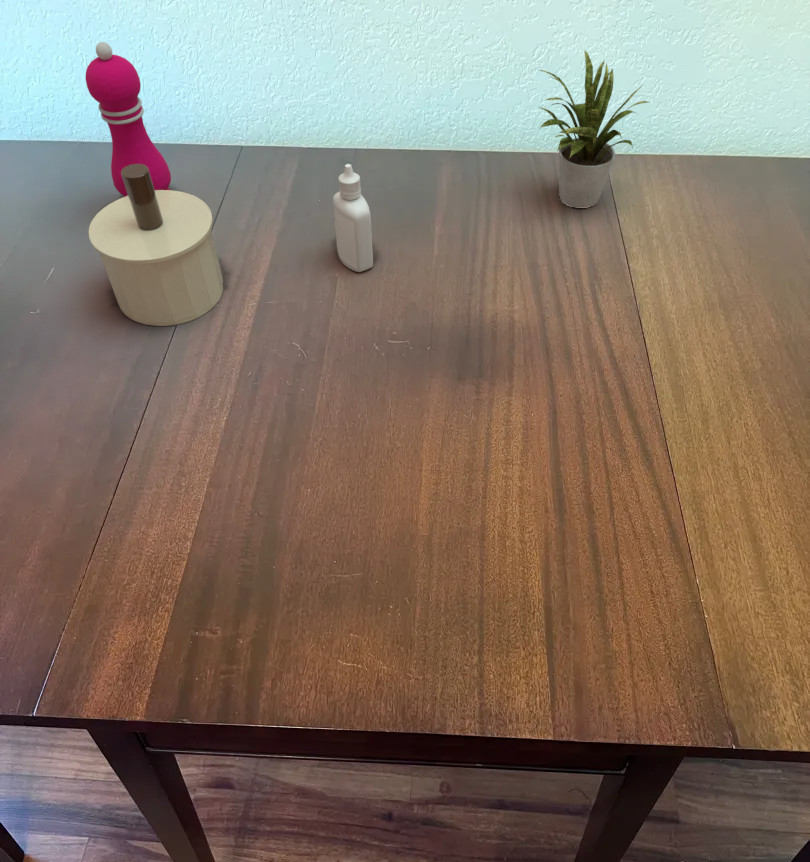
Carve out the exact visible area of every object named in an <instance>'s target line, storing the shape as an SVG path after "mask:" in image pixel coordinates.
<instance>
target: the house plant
mask: <svg viewBox="0 0 810 862" xmlns="http://www.w3.org/2000/svg"><path fill="white" fill-rule="evenodd" d="M584 60H585V61H584V62H585V76H584V92H585V93H584V94H585V99H584V102H583V103H577V104H575V102H574V99H573V97H572V95H571V93H570V90H569V89H568V87H567V85H566V84H565V83H564V81H563V80H562V79H561V78H560V77H559V76H558V75H556V74H554V73H552V72H549V71H548V70H547V71H546V70H543V69H537V70H538V71H540V72H543V73H546V74H547V75H550V76H551V77H550V76H549V77H550V78H551V79H553V80H555V81H558V82H559V83H560V84H561V85H562V86H563V88H564V90H565V92H566V94H567V95H568V97H569V98H568V99H570V102H571V103H570V102H569V101H566V100H565V99H563V98H562V97H557V96H555V97H548V98H546V99H545V101H564V102H566V104H568V105H569V106H568V105H566V104H564V103H560V102H556V103H555V102H554V103H552V104H551V106H553V105H561V106H562V107H564V108H565V109H566V111H567V113H568V114H569V116H570V119H571V120H572V123H573V127H571V126H570V125H569V124H568V123H567V122H566V121H564V120H561V119H558V117H557V116H556V114H555V113H554V112H553V111H551V110H549V109H547V108H545V107H540V106H538V108H539V109H541V110H543V111H545V112H547V113H548V114H549V116H551V117H552V118H550V119H547V120H545V121H544V122H543V123H542V124H541V125H540V127H539V128H538V130H540V129H541V128H545V127H550V126H558V127H559V128H560V129H561V131H560V132H559V133H560V134H557V135H555V136H554V138H558V137H560V138H561V137H562V138H561V139H560V140H559V143H558V147H557V150H556V152H558V197H559V196H560V198H559V200H560V199H561V200H562V201H563V202H565V203H566V204H568V205H570V206H573V207H588V206H592V205H594V204H596V203H597V202H598V203H599V201H598V200H600V198H601V196H602V193H603V190H604V188H605V184H606V183H607V180H608V176H609V174H610V171H611V168H612V166H613V163H614V161H615V158H616V150H615V149H614V146H616V145H618V144H621V143H622V144H628V145H630V146H631V147H632V148H634V147H633V142H632V140H630V139H623V138H622V133H621V132H620V131H619V130H616V129H611V128H613V126H614V125H615V124H616V123H618V122H619V121H620V120H622V119H623V118H624V117H627V115H630V114H632V113H634V114H637V115H638V113H637V112H636V111H633V110H630V108H632V107H635V106H637V105H641V104H647V103H651V102H650V101H647V100H640V101H637V102H635V103H634V104H632V105H631V106H629V107H627V109H625V110H622V111H621V112H620V110H621V109H622V108H623V107H624V106H625V105H627V103H628V102H629V101H630V100H631V99H632V98H633V96H634V95H635V94H636V93H637V92H638V91H639V90H640V89H641V88H642V87H643V85H641V86H639V87H638V88H637V89H636V90H634V91H633V92H632V93H631V94H630V95H629V96H628V98H627V99H626V100H625V101H624V102H623V103H622V104H621V105H620V107H618V108H617V109H616V110H615V112H614V113H613V115H612V116H611V117H610V118H609V120H608V121H607V122H606V124H605V125H604V127H603V129H602V130H601V131H600V129H601V126H602V123H603V121H604V119H605V116H606V113H607V110H608V107H609V103H610V99H611V97H612V93H613V90H614V68H611V70H610V72H609V67H608V63H607V62H606V65H605V60H603V61H602V62H601V63H600V65H599V66H598V68H597V70H596V72H595V76H594V66H593V62H592V59H591V58H590V55H589V53H588V52H587V50H584ZM604 65H605V68H604ZM603 68H604V69H605V71H604V75H603V78H602V73H603ZM601 79H602V83H601V85H600V81H601ZM599 85H600V87H599ZM598 88H599V89H598ZM571 109H572V110H571ZM573 112H574V113H573ZM618 112H619V113H618ZM574 114H575V115H574ZM575 116H576V118H575ZM638 116H639V115H638ZM576 119H577V120H576ZM577 122H578V123H577ZM564 126H565V127H567V128H565V127H564ZM599 131H600V133H599ZM564 134H565V135H564ZM570 134H573V136H574V138H572V137H571V135H570ZM576 135H577V136H576ZM617 136H619V137H620V138H621V140H620V141H617V142H615V143H613V144H609V143H608V142H610V141H611V140H612V139H614V138H615V137H617ZM598 203H597V204H598ZM597 204H596V205H597Z"/></svg>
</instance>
